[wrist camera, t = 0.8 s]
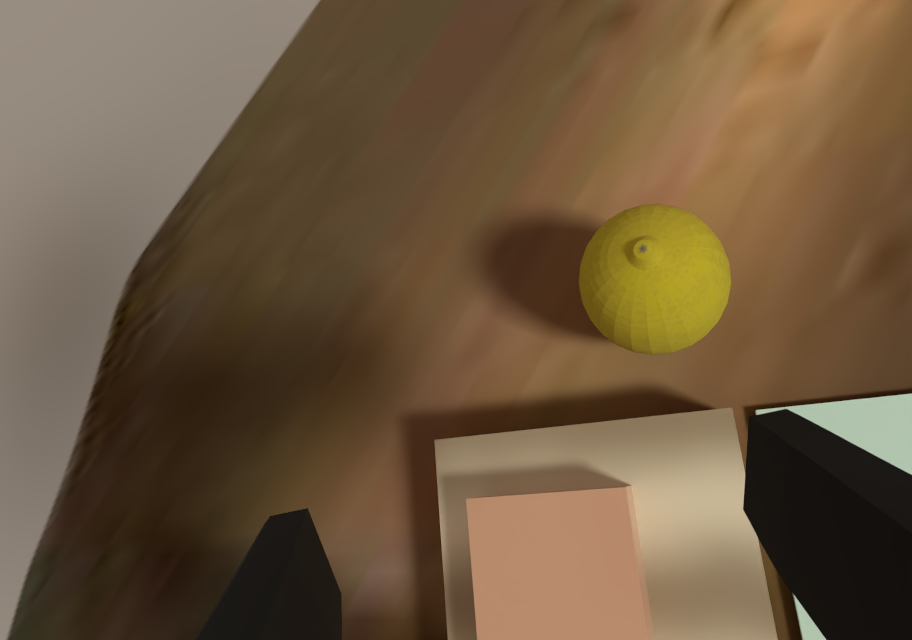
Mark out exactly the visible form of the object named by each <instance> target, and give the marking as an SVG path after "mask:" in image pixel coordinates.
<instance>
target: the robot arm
mask: <svg viewBox="0 0 912 640" xmlns="http://www.w3.org/2000/svg"><path fill="white" fill-rule="evenodd" d="M743 510H744V512H745V514H746V516H747V518H748V520H749V521H750V523H751V525H752V527H753V529H754V531H755V533H756V535H757V536H758V538H759V540H760V542H761V544H762V546H763V547H764V549H765V551H766V553H767V554H768V556H769V558H770V560H771V561H772V563H773V565H774V567H775V568H776V570H777V571H778V573H779V574H780V576H781V577H782V578H783V580H784V581H785V583H786V584H787V586H788V587H789V588H790V590H791V591H792V593H793V594H794V595H795V597H796V598H797V600H798V601H799V602H800V604H801V605H802V607H803V608H804V610H805V611H806V612H807V614H808V615H809V617H810V618H811V619H812V621H813V622H814V623H815V625H816V626H817V628H818V629H819V630H820V632H821V633H822V635H823V636H824V637H825V639H826V640H912V475H911V474H909V473H907V472H905V471H903V470H902V469H900V468H898V467H896V466H894V465H892V464H890V463H888V462H886V461H885V460H883V459H881V458H879V457H877V456H875V455H873V454H871V453H870V452H868V451H866V450H864V449H862V448H860V447H858V446H856V445H855V444H853V443H851V442H849V441H847V440H845V439H843V438H842V437H840V436H838V435H836V434H834V433H832V432H830V431H829V430H827V429H825V428H823V427H821V426H819V425H817V424H815V423H813V422H812V421H810V420H808V419H806V418H804V417H802V416H800V415H798V414H796V413H794V412H792V411H790V410H788V409H783V410H778V411H773V412H768V413H764V414H759V415H754V416H749V427H748V442H747V457H746V473H745V488H744V503H743ZM195 640H342V611H341V592H340V589H339V587H338V584H337V582H336V579H335V577H334V574H333V572H332V569H331V567H330V564H329V562H328V559H327V556H326V554H325V551H324V549H323V546H322V544H321V541H320V539H319V536H318V534H317V531H316V529H315V526H314V523H313V521H312V518H311V516H310V513H309V511H308V508H307V509H302V510H298V511H293V512H288V513H283V514H278V515H273V516H270V517H269V518H268V520H267V521H266V523H265V524H264V526H263V528H262V529H261V531H260V533H259V534H258V536H257V538H256V539H255V541H254V543H253V544H252V546H251V548H250V550H249V551H248V553H247V555H246V556H245V558H244V560H243V561H242V563H241V565H240V567H239V568H238V570H237V572H236V573H235V575H234V577H233V578H232V580H231V582H230V583H229V585H228V587H227V588H226V590H225V592H224V593H223V595H222V597H221V598H220V600H219V602H218V603H217V605H216V606H215V608H214V610H213V611H212V613H211V614H210V616H209V618H208V619H207V621H206V622H205V624H204V626H203V627H202V629H201V630H200V632H199V633H198V635H197V637H196V638H195Z"/></svg>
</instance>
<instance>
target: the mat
mask: <svg viewBox="0 0 912 640" xmlns="http://www.w3.org/2000/svg"><path fill="white" fill-rule="evenodd" d="M783 409H788V410H790V411H792V412H794V413H796V414H798V415H800V416H802V417H804V418H806V419H808V420H810V421H812V422H813V423H815V424H817V425H819V426H821V427H823V428H825V429H827V430H829V431H830V432H832V433H834V434H836V435H838V436H840V437H842V438H843V439H845V440H847V441H849V442H851V443H853V444H855V445H856V446H858V447H860V448H862V449H864V450H866V451H868V452H870V453H871V454H873V455H875V456H877V457H879V458H881V459H883V460H885V461H886V462H888V463H890V464H892V465H894V466H896V467H898V468H900V469H902V470H903V471H905V472H907V473H909V474H911V475H912V394H903V395H894V396H884V397H875V398H865V399H856V400H847V401H837V402H828V403H818V404H809V405H800V406H790V407H781V408H771V409H762V410H755V414H756V415H759V414H764V413H768V412H773V411H778V410H783ZM793 598H794V603H795V608H796V613H797V618H798V623H799V627H800V632H801V637H802V640H826V639H825V637H824V636H823V635H822V633H821V632H820V630H819V629H818V628H817V626H816V625H815V623H814V622H813V621H812V619H811V618H810V617H809V615H808V614H807V612H806V611H805V610H804V608H803V607H802V605H801V604H800V602H799V601H798V600H797V598H796V597H795V595H794V594H793Z"/></svg>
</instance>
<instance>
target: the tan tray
mask: <svg viewBox="0 0 912 640" xmlns="http://www.w3.org/2000/svg"><path fill="white" fill-rule="evenodd" d="M434 442H435V457H436V472H437V486H438V501H439V516H440V531H441V545H442V560H443V575H444V590H445V605H446V619H447V634H448V640H477V631H476V618H475V605H474V593H473V580H472V567H471V555H470V542H469V529H468V517H467V504H466V499H468V498H475V497H482V496H495V495H509V494H522V493H536V492H550V491H563V490H577V489H591V488H604V487H618V486H631V485H632V492H633V498H634V505H635V512H636V519H637V525H638V532H639V539H640V546H641V552H642V559H643V566H644V573H645V579H646V586H647V593H648V600H649V606H650V613H651V620H652V627H653V633H654V640H778V639H777V634H776V629H775V623H774V618H773V613H772V608H771V603H770V598H769V593H768V588H767V583H766V578H765V572H764V567H763V562H762V557H761V552H760V547H759V542H758V537H757V535H756V533H755V531H754V529H753V527H752V525H751V523H750V521H749V520H748V518H747V516H746V514H745V512H744V510H743V503H744V488H745V471H744V465H743V460H742V455H741V450H740V445H739V440H738V435H737V430H736V425H735V420H734V415H733V409H732V408H723V409H714V410H704V411H695V412H686V413H677V414H668V415H659V416H649V417H640V418H631V419H622V420H613V421H603V422H594V423H585V424H576V425H567V426H558V427H548V428H539V429H530V430H521V431H512V432H502V433H493V434H484V435H475V436H466V437H457V438H447V439H438V440H434Z"/></svg>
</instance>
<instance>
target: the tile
mask: <svg viewBox="0 0 912 640" xmlns="http://www.w3.org/2000/svg"><path fill="white" fill-rule="evenodd" d="M466 504H467V517H468V529H469V542H470V555H471V567H472V580H473V593H474V605H475V618H476V631H477V640H654V633H653V627H652V620H651V613H650V606H649V600H648V593H647V586H646V579H645V573H644V566H643V559H642V552H641V546H640V539H639V532H638V525H637V519H636V512H635V505H634V498H633V492H632V485H631V486H618V487H604V488H591V489H577V490H563V491H550V492H536V493H522V494H509V495H495V496H482V497H475V498H468V499H466Z"/></svg>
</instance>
